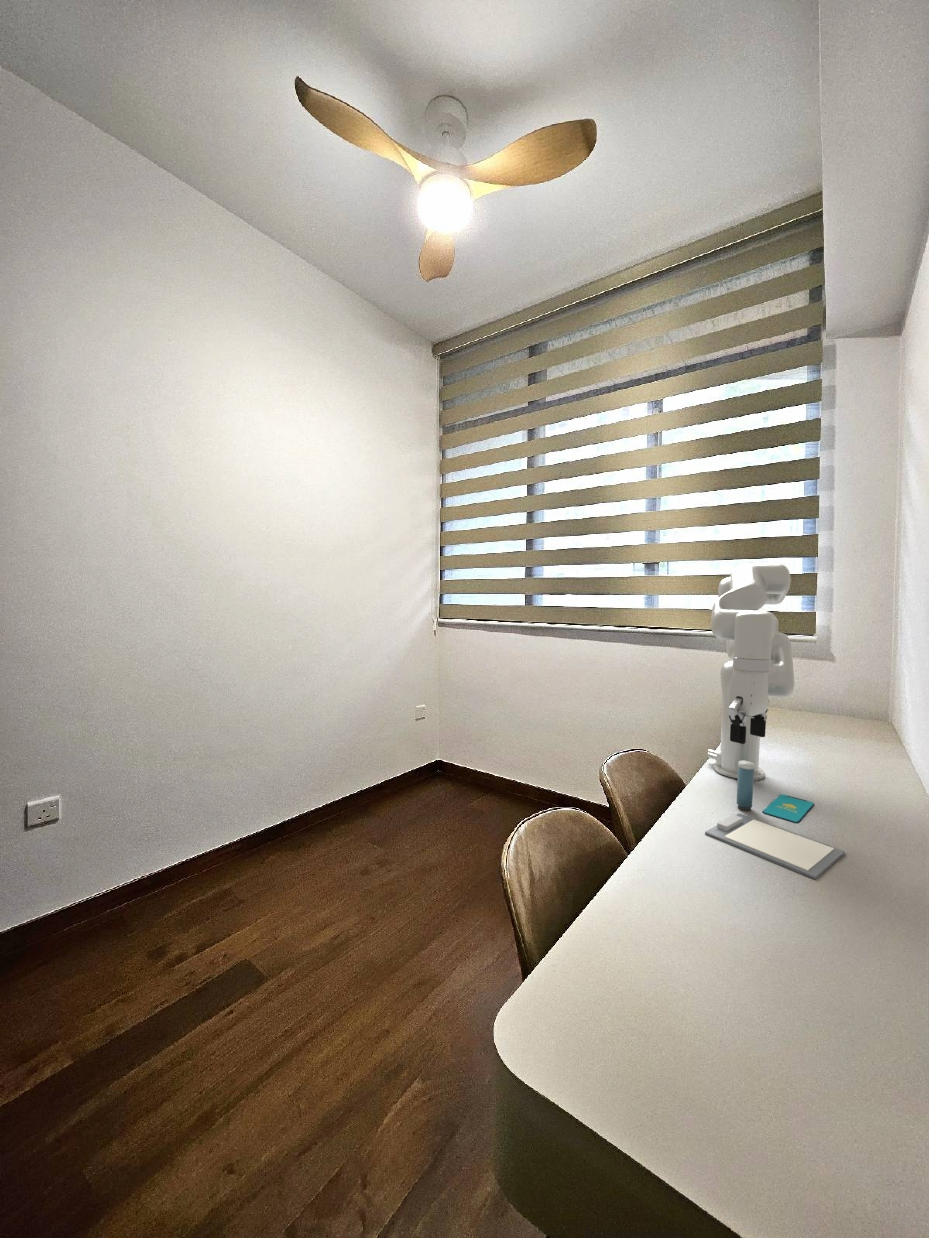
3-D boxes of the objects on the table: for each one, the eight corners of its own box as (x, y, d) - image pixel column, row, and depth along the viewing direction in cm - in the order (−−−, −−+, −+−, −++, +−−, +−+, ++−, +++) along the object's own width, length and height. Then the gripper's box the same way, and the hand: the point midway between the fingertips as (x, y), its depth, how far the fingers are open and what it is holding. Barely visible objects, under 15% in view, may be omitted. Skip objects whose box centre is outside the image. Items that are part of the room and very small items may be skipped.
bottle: (733, 807, 118) (736, 762, 117) (740, 804, 120) (742, 759, 119) (748, 812, 115) (750, 766, 114) (754, 809, 117) (756, 763, 116)
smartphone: (761, 811, 115) (780, 792, 126) (761, 814, 115) (780, 795, 126) (798, 822, 110) (815, 802, 120) (797, 826, 110) (815, 805, 120)
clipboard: (704, 833, 105) (705, 827, 105) (739, 815, 114) (739, 808, 114) (815, 879, 89) (815, 871, 89) (844, 853, 98) (845, 846, 98)
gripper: (751, 661, 123) (748, 729, 124) (716, 666, 113) (712, 741, 114) (785, 665, 117) (781, 737, 118) (751, 670, 107) (747, 749, 108)
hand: (747, 739), depth 116 cm, fingers open, 9 cm apart
